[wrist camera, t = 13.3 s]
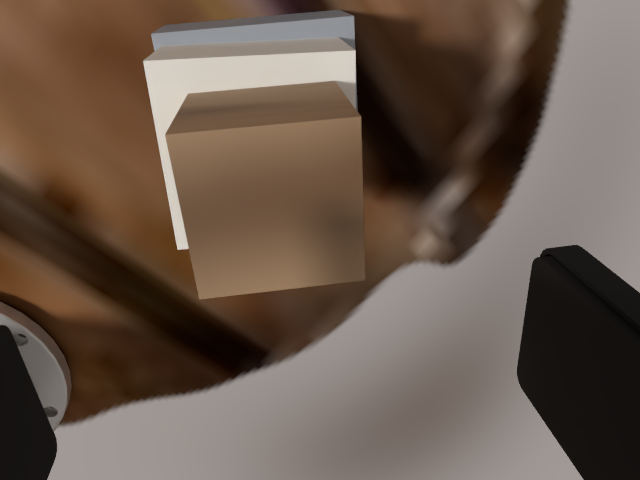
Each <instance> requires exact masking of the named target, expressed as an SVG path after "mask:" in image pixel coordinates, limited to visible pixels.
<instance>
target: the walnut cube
mask: <svg viewBox="0 0 640 480" xmlns="http://www.w3.org/2000/svg"><path fill="white" fill-rule="evenodd" d="M165 137H166V142H167V147H168V151H169V156H170V161H171V166H172V171H173V175H174V180H175V185H176V190H177V195H178V199H179V204H180V209H181V214H182V219H183V223H184V228H185V233H186V238H187V242H188V247H189V252H190V257H191V262H192V266H193V271H194V276H195V281H196V286H197V290H198V295H199V299H207V298H216V297H224V296H233V295H242V294H250V293H259V292H268V291H277V290H285V289H294V288H303V287H311V286H320V285H329V284H338V283H346V282H355V281H364V280H365V246H364V208H363V169H362V131H361V116H360V114H359V113H358V112H357V110H356V109H355V108H354V106H353V105H352V103H351V102H350V101H349V99H348V98H347V97H346V95H345V94H344V93H343V91H342V90H341V89H340V87H339V86H338V85H337V83H336V82H335V81H326V82H314V83H303V84H291V85H280V86H268V87H257V88H246V89H234V90H223V91H211V92H200V93H189V94H187V96H186V98H185V100H184V102H183V103H182V105H181V107H180V109H179V110H178V112H177V114H176V116H175V118H174V119H173V121H172V123H171V125H170V127H169V128H168V130H167V132H166V134H165Z"/></svg>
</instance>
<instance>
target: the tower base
mask: <svg viewBox="0 0 640 480" xmlns="http://www.w3.org/2000/svg"><path fill="white" fill-rule="evenodd" d="M151 36H152V41H153V46H154V50H155V51H156V50H157V49H158V48H160V47H161V46H163V45H184V44H206V43H227V42H248V41H269V40H290V39H312V38H333V37H339V38H340V39H341V40H343V41H344V42H345V43H347V44H348V45H349V46H351V47H352V48H353V49H355V30H354V16H353V15H351V14H348V13H346V12H344V11H342V10H332V11H321V12H309V13H298V14H286V15H275V16H263V17H252V18H240V19H229V20H217V21H206V22H195V23H183V24H172V25H164V26H163V27H161V28H160V29H158V30H156V31H155V32H153V33H152V34H151ZM356 110H357V84H356ZM357 112H358V111H357Z"/></svg>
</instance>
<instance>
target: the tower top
mask: <svg viewBox="0 0 640 480" xmlns="http://www.w3.org/2000/svg"><path fill="white" fill-rule="evenodd" d="M143 63H144V68H145V74H146V79H147V85H148V90H149V96H150V101H151V107H152V112H153V118H154V123H155V129H156V134H157V140H158V145H159V151H160V156H161V162H162V167H163V172H164V178H165V183H166V189H167V194H168V200H169V205H170V211H171V216H172V222H173V227H174V233H175V238H176V244H177V249H178V250H180V249H189V247H188V242H187V238H186V233H185V228H184V223H183V219H182V214H181V209H180V204H179V199H178V195H177V190H176V185H175V180H174V175H173V171H172V166H171V161H170V156H169V151H168V147H167V142H166V137H165V134H166V132H167V130H168V128H169V127H170V125H171V123H172V121H173V119H174V118H175V116H176V114H177V112H178V110H179V109H180V107H181V105H182V103H183V102H184V100H185V98H186V96H187V94H189V93H200V92H211V91H223V90H234V89H246V88H257V87H268V86H280V85H291V84H303V83H314V82H326V81H335V82H336V83H337V85H338V86H339V87H340V89H341V90H342V91H343V93H344V94H345V95H346V97H347V98H348V99H349V101H350V102H351V103H352V105H353V106H354V108H355V109H356V50H355V49H353V48H352V47H351V46H349V45H348V44H347V43H345V42H344V41H343V40H341V39H340V38H339V37H333V38H312V39H290V40H269V41H248V42H227V43H206V44H184V45H163V46H161V47H160V48H158V49H157V50H156V51H155V52H153V53H152V54H151V55H150V56H149V57H147V58H146V59H145V60H144V61H143Z"/></svg>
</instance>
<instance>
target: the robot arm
mask: <svg viewBox="0 0 640 480" xmlns="http://www.w3.org/2000/svg"><path fill="white" fill-rule="evenodd" d="M517 376H518V380H519V384H520V386H521V388H522V390H523V391H524V393H525V394H526V396H527V397H528V399H529V400H530V401H531V403H532V404H533V406H534V407H535V409H536V410H537V412H538V413H539V414H540V416H541V418H542V419H543V420H544V422H545V423H546V425H547V426H548V428H549V429H550V431H551V432H552V434H553V435H554V437H555V438H556V439H557V441H558V443H559V444H560V445H561V447H562V448H563V450H564V451H565V453H566V454H567V456H568V457H569V459H570V460H571V462H572V463H573V465H574V466H575V467H576V469H577V470H578V472H579V473H580V475H581V476H582V478H583V479H584V480H640V293H639V292H638V291H636V290H635V289H634V288H633V287H631V286H630V285H629V284H628V283H626V282H625V281H624V280H622V279H621V278H620V277H619V276H617V275H616V274H615V273H613V272H612V271H611V270H610V269H608V268H607V267H606V266H605V265H603V264H602V263H601V262H600V261H598V260H597V259H596V258H595V257H593V256H592V255H591V254H590V253H588V252H587V251H586V250H585V249H583V248H582V247H580V246H578V245H572V246H564V247H555V248H548V249H545V250H543V252H542V253H541V255H540V257H538V258H536V259H535V260H534V261H533V264H532V269H531V276H530V283H529V290H528V297H527V303H526V311H525V317H524V325H523V332H522V339H521V345H520V352H519V359H518V366H517ZM71 388H72V384H71V376H70V370H69V367H68V365H67V362H66V360H65V357H64V355H63V353H62V352H61V350H60V349H59V347H58V346H57V344H56V343H55V341H54V340H53V339H52V338H51V337H50V336H49V335H48V334H47V333H46V332H45V331H44V330H43V329H42V328H41V327H40V326H39V325H38V324H36V323H35V322H34V321H32V320H31V319H30V318H28V317H27V316H26V315H24V314H23V313H21V312H19V311H17V310H16V309H14V308H12V307H10V306H8V305H6V304H4V303H2V302H0V480H47V478H48V476H49V473H50V471H51V468H52V466H53V463H54V460H55V457H56V452H57V442H56V437H55V434H54V431H55V429H56V428H57V426H58V425H59V423H60V421H61V420H62V418H63V416H64V413H65V411H66V409H67V406H68V404H69V401H70V395H71Z"/></svg>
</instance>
